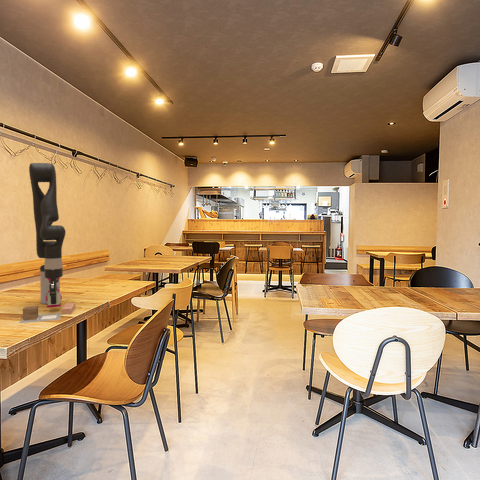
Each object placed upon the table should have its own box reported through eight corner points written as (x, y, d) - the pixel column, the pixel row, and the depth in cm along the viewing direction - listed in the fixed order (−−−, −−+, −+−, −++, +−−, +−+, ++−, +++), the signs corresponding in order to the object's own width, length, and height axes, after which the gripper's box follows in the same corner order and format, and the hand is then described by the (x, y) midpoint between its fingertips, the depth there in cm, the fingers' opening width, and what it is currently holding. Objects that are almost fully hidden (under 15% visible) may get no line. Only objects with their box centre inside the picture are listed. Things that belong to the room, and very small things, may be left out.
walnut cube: (25, 317, 149) (25, 306, 148) (38, 316, 151) (38, 305, 150) (23, 320, 144) (22, 309, 144) (36, 319, 146) (36, 308, 146)
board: (24, 318, 152) (24, 315, 152) (62, 315, 157) (62, 312, 157) (18, 326, 140) (18, 323, 140) (59, 322, 146) (59, 319, 146)
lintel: (66, 311, 166) (66, 303, 166) (75, 310, 167) (75, 302, 167) (61, 317, 155) (61, 309, 155) (71, 317, 156) (71, 308, 156)
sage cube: (48, 302, 163) (48, 292, 163) (60, 301, 165) (60, 291, 165) (47, 305, 159) (47, 294, 158) (59, 304, 161) (59, 294, 160)
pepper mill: (50, 305, 177) (49, 267, 176) (64, 305, 178) (63, 267, 177) (43, 308, 170) (42, 269, 169) (58, 308, 170) (57, 269, 169)
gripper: (46, 265, 166) (46, 299, 167) (42, 270, 153) (43, 307, 154) (63, 264, 169) (64, 298, 170) (61, 269, 156) (61, 305, 157)
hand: (54, 302), depth 162 cm, fingers closed on sage cube, 5 cm apart
